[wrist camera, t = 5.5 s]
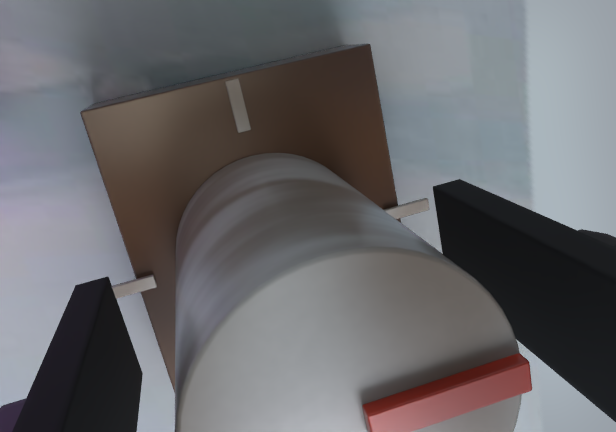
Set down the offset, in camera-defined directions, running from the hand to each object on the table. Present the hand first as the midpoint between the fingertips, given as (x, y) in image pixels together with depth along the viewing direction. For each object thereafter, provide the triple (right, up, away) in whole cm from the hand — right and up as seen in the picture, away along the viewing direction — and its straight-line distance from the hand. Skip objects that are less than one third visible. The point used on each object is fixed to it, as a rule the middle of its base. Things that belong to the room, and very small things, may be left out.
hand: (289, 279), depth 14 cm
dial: (-1, +1, +2) cm, 3 cm away
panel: (-1, +1, +5) cm, 5 cm away
